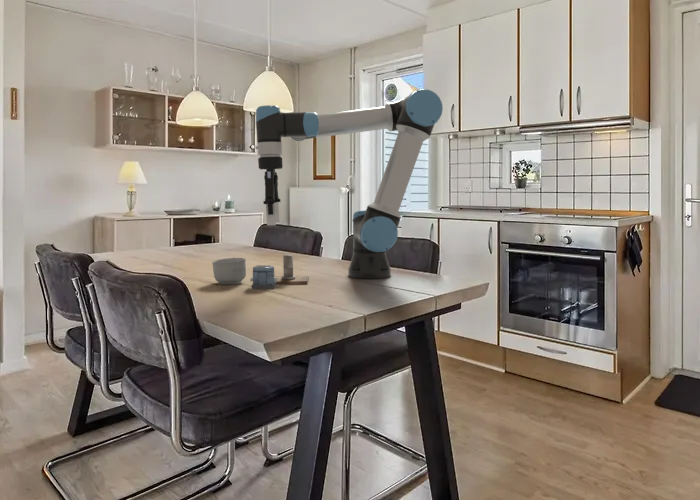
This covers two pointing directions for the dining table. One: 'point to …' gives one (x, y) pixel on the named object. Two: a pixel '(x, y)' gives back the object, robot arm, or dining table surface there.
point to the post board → (296, 281)
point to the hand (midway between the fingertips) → (273, 223)
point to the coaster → (264, 286)
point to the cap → (263, 275)
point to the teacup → (229, 270)
